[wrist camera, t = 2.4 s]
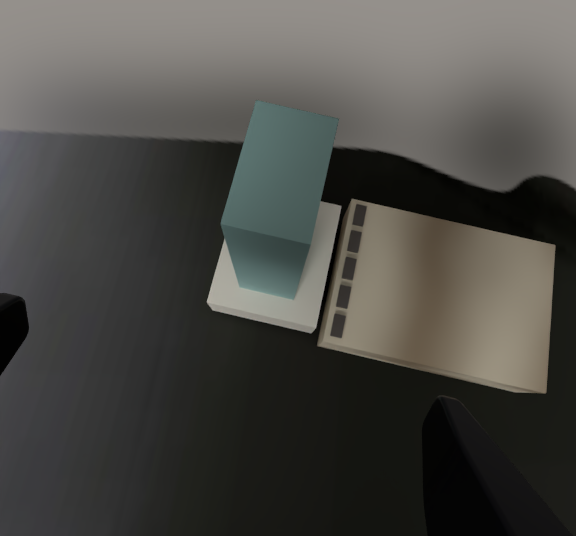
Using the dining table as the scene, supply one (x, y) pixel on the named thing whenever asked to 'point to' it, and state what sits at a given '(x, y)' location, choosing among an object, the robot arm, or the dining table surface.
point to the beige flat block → (441, 298)
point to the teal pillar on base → (278, 221)
